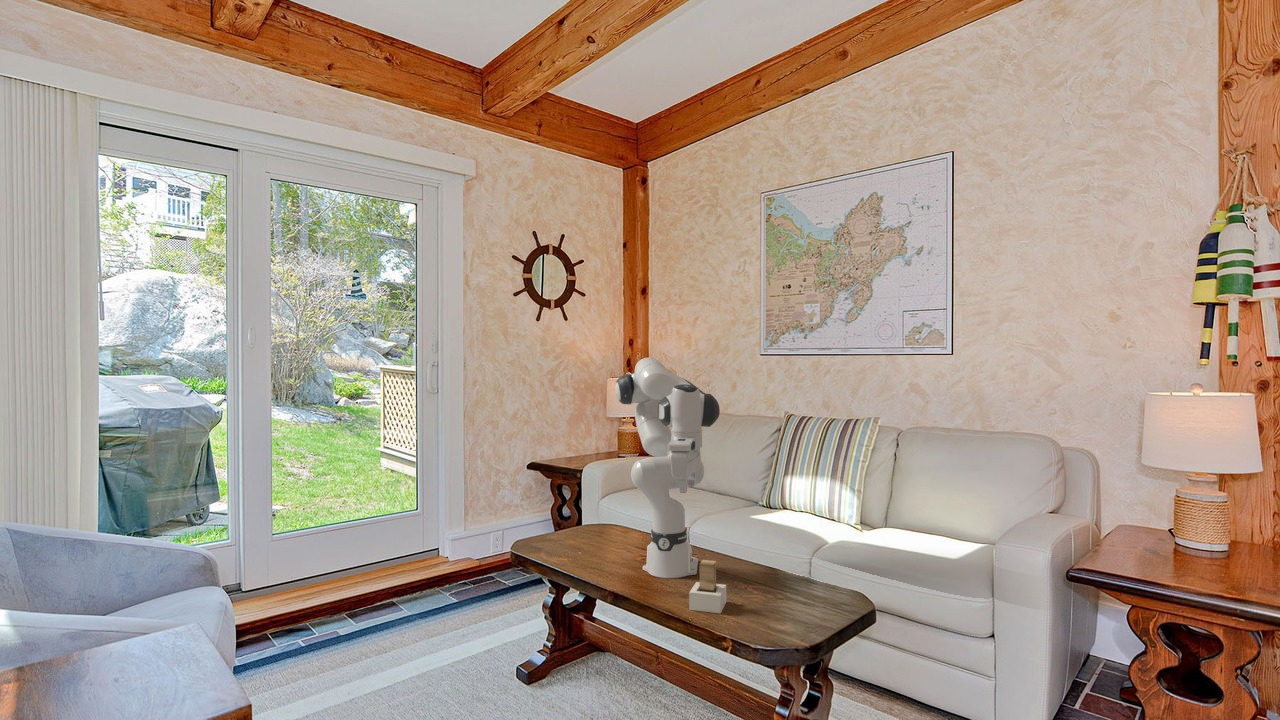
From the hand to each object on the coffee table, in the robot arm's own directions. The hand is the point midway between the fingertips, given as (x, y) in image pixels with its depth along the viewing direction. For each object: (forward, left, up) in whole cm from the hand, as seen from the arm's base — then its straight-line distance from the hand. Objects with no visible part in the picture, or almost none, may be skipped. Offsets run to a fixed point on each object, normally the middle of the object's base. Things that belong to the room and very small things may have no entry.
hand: (687, 489), depth 183 cm
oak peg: (-3, +5, -34) cm, 34 cm away
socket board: (-3, +5, -34) cm, 35 cm away
